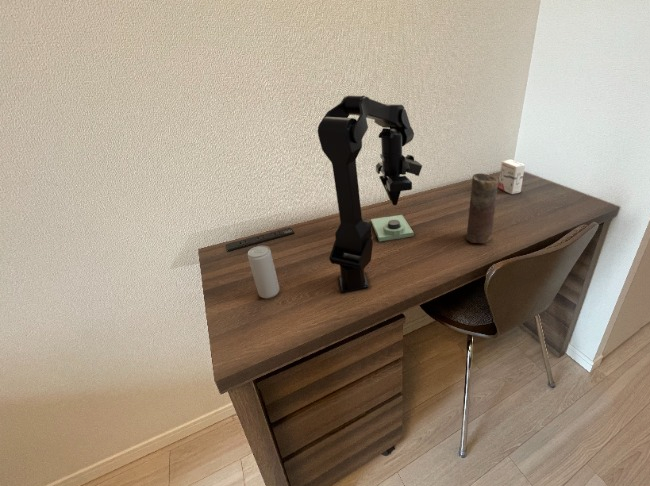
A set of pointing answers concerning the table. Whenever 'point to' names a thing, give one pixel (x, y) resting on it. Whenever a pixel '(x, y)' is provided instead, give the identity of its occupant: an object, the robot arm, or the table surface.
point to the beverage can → (263, 271)
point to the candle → (482, 208)
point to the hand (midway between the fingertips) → (393, 202)
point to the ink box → (511, 176)
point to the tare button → (393, 224)
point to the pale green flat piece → (390, 234)
